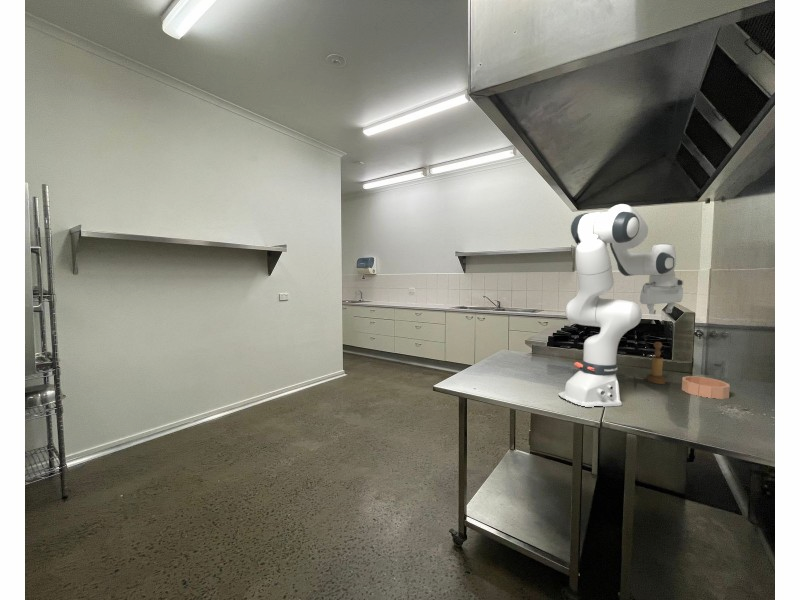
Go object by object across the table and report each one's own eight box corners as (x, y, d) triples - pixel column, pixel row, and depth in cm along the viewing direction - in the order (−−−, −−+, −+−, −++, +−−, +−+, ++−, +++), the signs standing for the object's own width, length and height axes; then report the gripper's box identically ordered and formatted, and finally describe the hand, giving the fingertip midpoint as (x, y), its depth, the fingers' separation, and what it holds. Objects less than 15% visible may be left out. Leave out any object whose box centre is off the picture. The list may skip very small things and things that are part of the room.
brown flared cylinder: (669, 384, 145) (671, 343, 143) (654, 384, 145) (656, 343, 144) (657, 379, 151) (659, 340, 150) (643, 379, 152) (645, 340, 150)
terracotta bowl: (714, 400, 126) (714, 389, 125) (673, 388, 139) (674, 378, 138) (737, 396, 130) (738, 384, 130) (695, 385, 143) (696, 374, 143)
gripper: (650, 283, 138) (649, 315, 139) (686, 281, 143) (685, 312, 145) (636, 282, 144) (635, 314, 145) (671, 280, 150) (670, 311, 151)
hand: (660, 313), depth 145 cm, fingers open, 8 cm apart
